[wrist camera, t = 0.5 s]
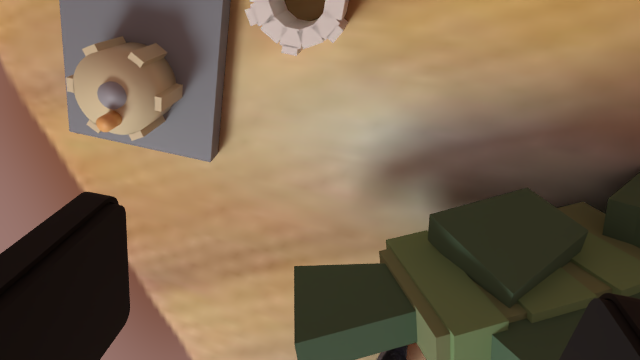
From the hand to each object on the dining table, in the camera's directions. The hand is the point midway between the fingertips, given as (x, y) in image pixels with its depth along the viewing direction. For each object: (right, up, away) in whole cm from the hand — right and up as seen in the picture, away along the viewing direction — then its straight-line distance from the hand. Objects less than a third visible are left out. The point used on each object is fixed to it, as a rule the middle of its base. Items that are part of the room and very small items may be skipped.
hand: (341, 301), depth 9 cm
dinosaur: (+16, -2, +32) cm, 36 cm away
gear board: (-14, +16, +28) cm, 35 cm away
